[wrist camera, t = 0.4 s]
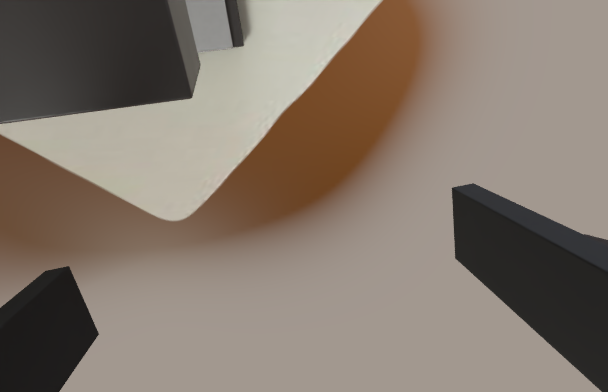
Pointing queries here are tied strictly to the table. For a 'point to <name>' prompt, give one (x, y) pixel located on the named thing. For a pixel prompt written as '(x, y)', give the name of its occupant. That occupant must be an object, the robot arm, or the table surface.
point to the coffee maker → (105, 52)
